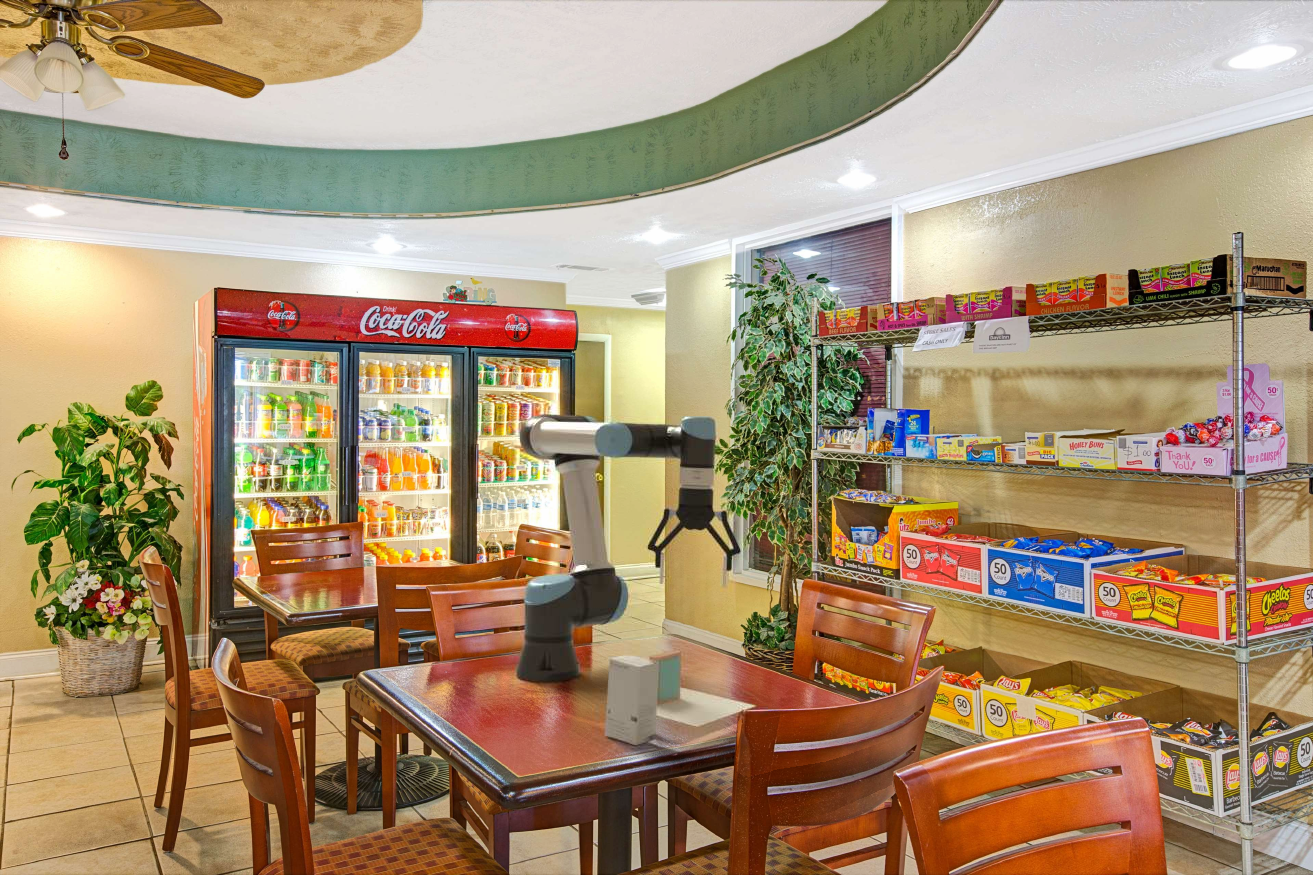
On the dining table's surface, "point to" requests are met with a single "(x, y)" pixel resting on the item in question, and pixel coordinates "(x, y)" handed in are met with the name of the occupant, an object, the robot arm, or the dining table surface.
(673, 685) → the tile
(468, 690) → the dining table surface
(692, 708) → the mat
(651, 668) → the skincare box
